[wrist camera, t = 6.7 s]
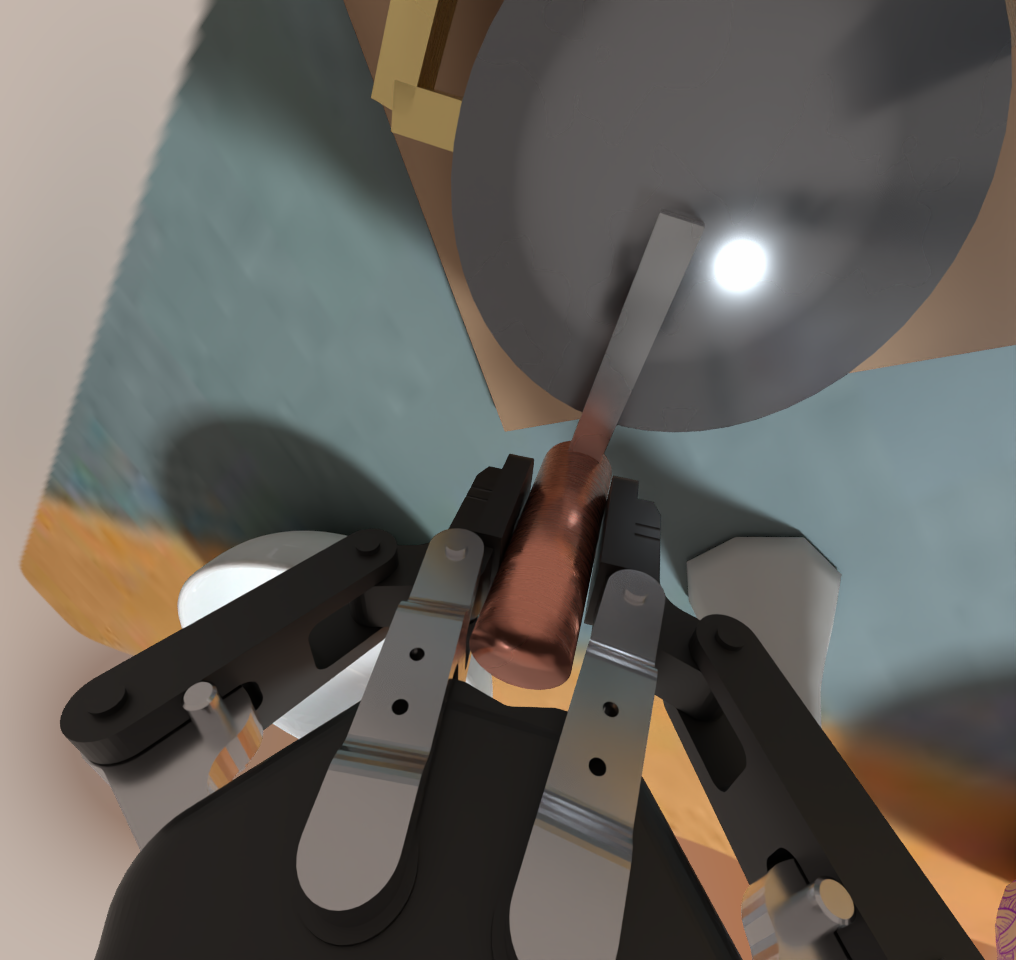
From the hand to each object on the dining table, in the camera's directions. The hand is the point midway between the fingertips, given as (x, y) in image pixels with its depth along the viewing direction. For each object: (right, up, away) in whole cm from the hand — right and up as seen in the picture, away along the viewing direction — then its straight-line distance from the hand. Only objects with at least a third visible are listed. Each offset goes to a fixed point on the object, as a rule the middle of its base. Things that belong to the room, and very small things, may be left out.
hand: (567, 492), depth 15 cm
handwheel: (+2, +11, +1) cm, 11 cm away
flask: (+11, -5, +11) cm, 16 cm away
